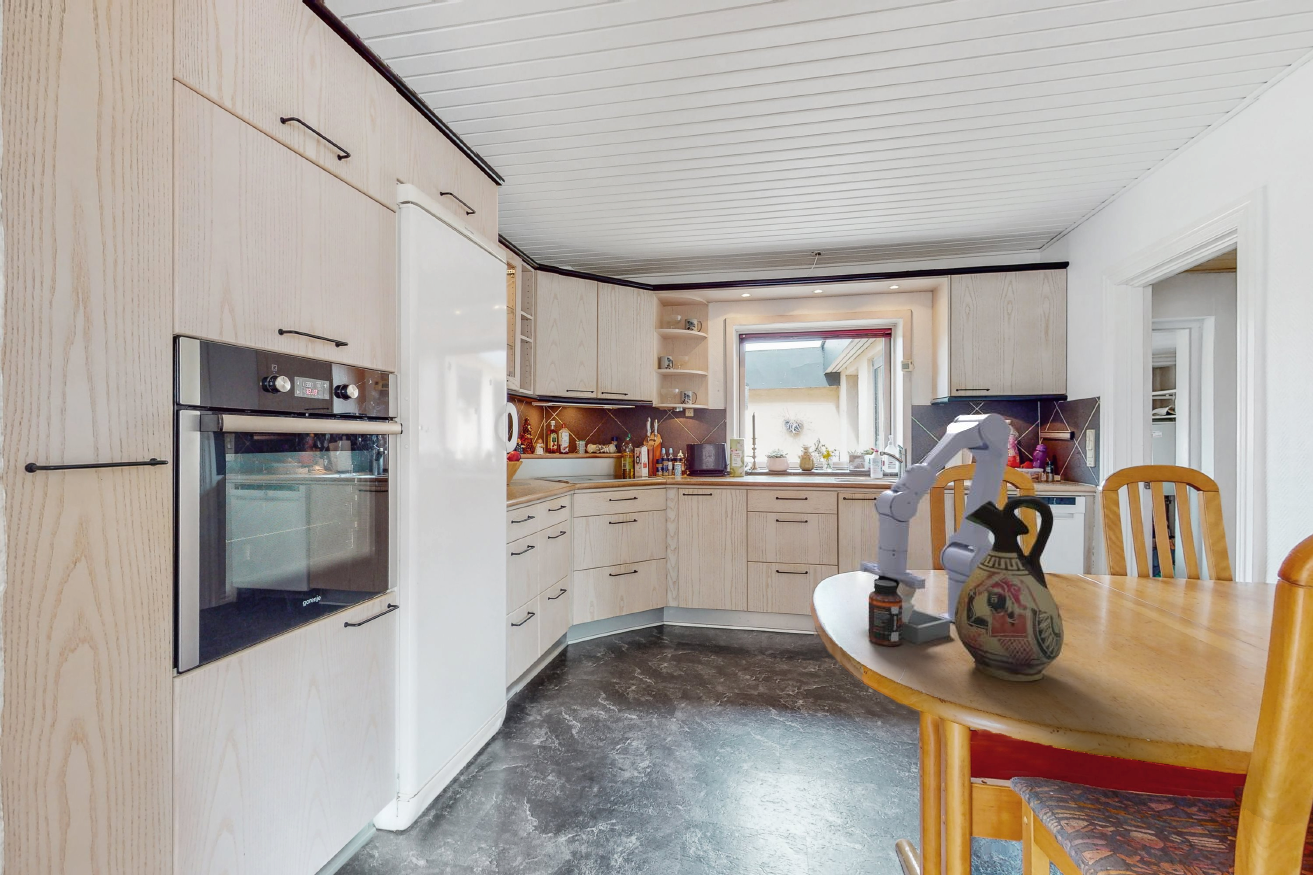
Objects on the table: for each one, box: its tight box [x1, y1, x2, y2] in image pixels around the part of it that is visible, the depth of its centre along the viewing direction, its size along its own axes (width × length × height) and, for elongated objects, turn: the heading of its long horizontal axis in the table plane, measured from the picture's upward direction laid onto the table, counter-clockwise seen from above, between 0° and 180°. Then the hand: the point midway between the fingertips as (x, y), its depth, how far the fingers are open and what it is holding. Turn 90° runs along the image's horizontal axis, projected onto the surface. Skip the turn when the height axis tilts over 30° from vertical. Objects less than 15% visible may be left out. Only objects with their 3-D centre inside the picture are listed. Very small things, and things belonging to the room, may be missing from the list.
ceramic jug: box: [954, 494, 1065, 682], centre depth 92 cm, size 17×15×30 cm
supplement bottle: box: [867, 580, 903, 647], centre depth 106 cm, size 6×6×11 cm
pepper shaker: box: [897, 581, 918, 623], centre depth 112 cm, size 4×4×10 cm
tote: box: [902, 608, 951, 645], centre depth 111 cm, size 10×11×3 cm
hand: (888, 614), depth 115 cm, fingers closed, pressing on pepper shaker
